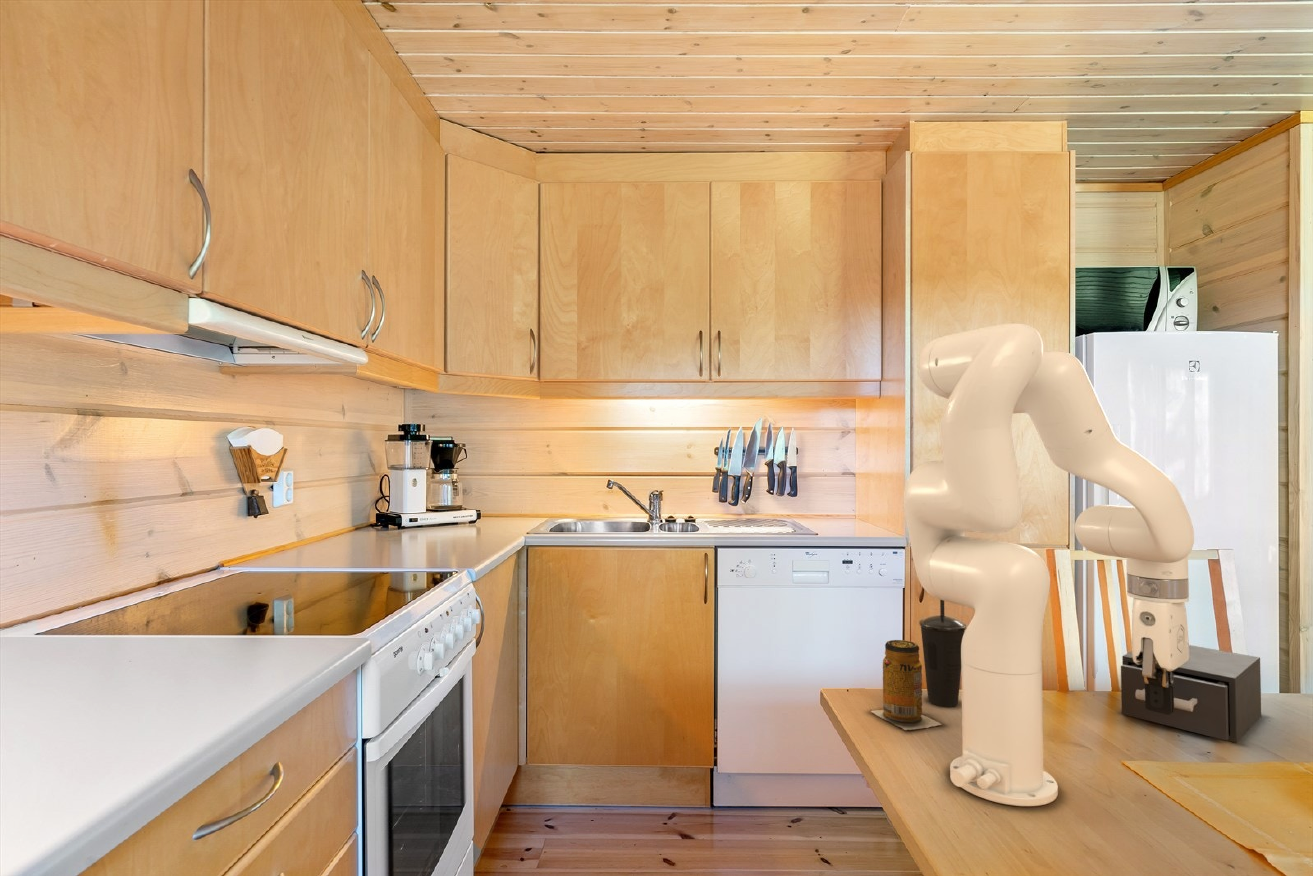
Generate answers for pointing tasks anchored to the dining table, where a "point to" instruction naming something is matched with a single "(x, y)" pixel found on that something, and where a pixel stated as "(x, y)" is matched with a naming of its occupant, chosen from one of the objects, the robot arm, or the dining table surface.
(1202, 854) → the dining table surface
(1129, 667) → the drawer
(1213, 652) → the cabinet
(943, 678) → the drinking cup
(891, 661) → the condiment
